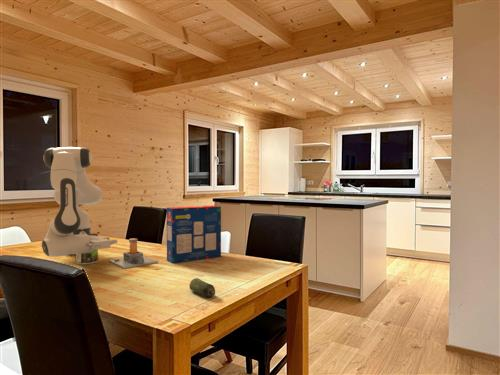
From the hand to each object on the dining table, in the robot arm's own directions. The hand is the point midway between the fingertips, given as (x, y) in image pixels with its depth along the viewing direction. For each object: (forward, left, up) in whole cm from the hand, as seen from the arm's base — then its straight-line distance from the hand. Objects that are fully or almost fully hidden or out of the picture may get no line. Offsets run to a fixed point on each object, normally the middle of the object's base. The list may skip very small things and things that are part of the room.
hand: (112, 240), depth 170 cm
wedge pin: (0, +11, -12) cm, 16 cm away
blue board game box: (+14, +39, -13) cm, 43 cm away
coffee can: (-17, -6, -13) cm, 23 cm away
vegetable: (+65, +8, -13) cm, 67 cm away
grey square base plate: (0, +11, -13) cm, 16 cm away
